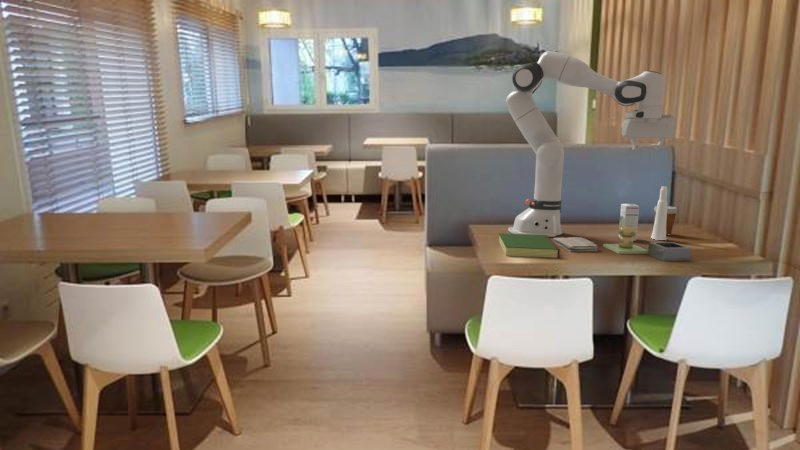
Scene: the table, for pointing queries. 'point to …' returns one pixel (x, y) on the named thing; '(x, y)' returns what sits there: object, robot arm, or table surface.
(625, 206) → the syrup box
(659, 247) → the box
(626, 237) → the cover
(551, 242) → the hardcover book
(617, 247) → the pad
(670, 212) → the disposable coffee cup
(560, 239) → the washcloth
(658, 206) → the cosmetic bottle
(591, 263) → the table surface
